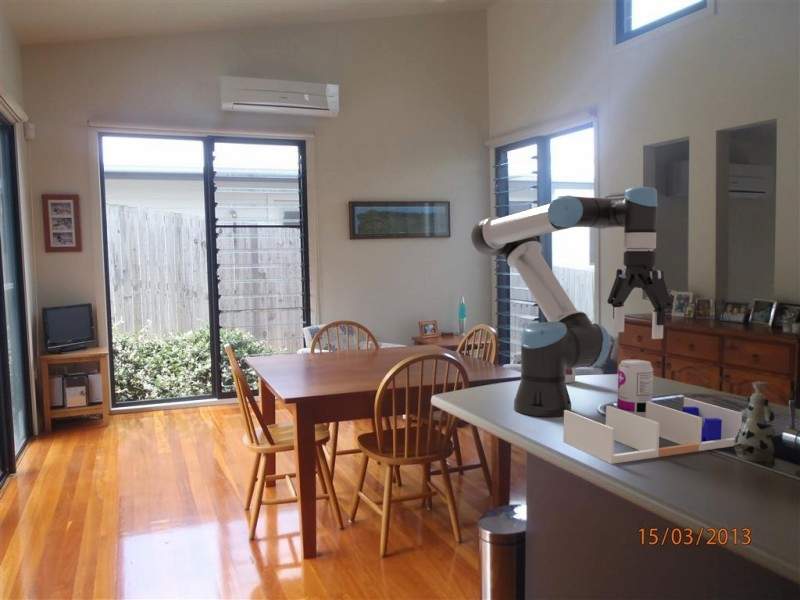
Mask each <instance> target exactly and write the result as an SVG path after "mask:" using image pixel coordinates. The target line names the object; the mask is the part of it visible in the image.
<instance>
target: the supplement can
mask: <svg viewBox="0 0 800 600" xmlns="http://www.w3.org/2000/svg"><path fill="white" fill-rule="evenodd" d="M651 363H652V362H651V361H649V360H644V359H622V360H621V361H620V364H619V365H618V368H617V369H618V373H617V378H618V379H617V406H616V407H617V409H620V410H623V411H626V412H629V413H631V414H634V415H637V416H640V417H643V418H646V402H647V401H648V402H652V403H653V388H654V387H653V386H654V385H653V383H654V368H653V366H652V364H651Z"/></svg>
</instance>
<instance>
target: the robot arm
mask: <svg viewBox="0 0 800 600" xmlns="http://www.w3.org/2000/svg"><path fill="white" fill-rule="evenodd" d="M658 207H659V204H658V190H657V189H656V188H655V187H652V186H651V187H650V186H635V187H629V188H626V189H625V193H624V196H623V197H615V198H614V197H612V198H608V197H607V198H605V197H604V198H603V197H587V196H584V197H583V196H575V195H574V196H573V195H560V196H556V197H555V198H553V200H552V201H551V202H550V203H547V204H543V205H539V206H536V207H533V208H532V207H531V208H529V209H526V210H523V211H518V212H516V213H513V214H508V215H506V216H502V217H501V216H500V217H499V216H497V215H496V216H489V217H486V218H483V219H480V220H479V221H478V222H477V223H475V224H474V226H473V227H472V230H471V234H470V235H471V238H470V239H471V242H472V246H473V247H474V248H475V249H476V251H477V252H479V253H481V254H483V255H485V256H489V257H503V258H504V260H505V261H506V263H507V265H508V266H509V267H510V268H514V269H516V270H517V272H518V274H519V275H520V277H521V279H522V280H523V282H524V283H525V285H526V288H527V289H528V290H529V292H530V293H531V295H532V297H533V299H534V300H535V302H536V304H537V305H538V307H539V309H540V310H541V312H542V314H543V316H544V317H545V318H546V320H547V321H541V322H536V323H530V324H527V325H526V326H525V327H523V328H522V331H521V340H520V348H521V349H520V351H521V353H520V356H521V359H520V360H521V361H520V362H521V363H520V382H519V384H518V385H519V386H518V389H517V390H516V394H515V397H514V400H513V410H514V411H516V412H517V413H519V414H523V415H528V416H533V417H543V418H544V417H549V418H551V417H552V418H553V417H564V410H567V411H570V412H572V402H571V398H570V395H569V391H568V387H567V383H565V369H571V368H575V369H577V368H591V367H593V366H598V365H600V364H601V363H603V362H604V361H605V360H606V359H607V357H608V356H609V352H610V346H611V339H610V334H609V332H608V330H607V329H606V328H605V327H604V326H603V325H601V324H598V323H592V322H591V320H590V318H589V317H588V315H587V314H586V312H584V311H579V310H577V308H576V307H575V305H574V303H573V302H572V300H571V299H570V297H569V295H568V294H567V292H566V291H565V289H564V287H563V286H562V285H561V283H560V281H559V280H558V279H557V277H556V275H555V274H554V272H553V271H552V269H551V267H550V266H549V263H547V261H546V259H545V258H544V256H543V255H542V250H543V247H542V246H543V238H542V237H543V235H545V234H550V233H554V232H557V231H558V232H559V231H562V230H563V231H564V230H567V229H571V228H593V229H604V230H605V229H607V228H608V229H609V228H611V229H612V228H624V229H623V230H624V232H623V249H624V252H623V263H622V264H623V265H624V266H625V268H618V269H616V274H615V279H614V282H613V285H612V288H611V290H610V293H609V296H608V299H607V302H606V303H607V304H609V305H611V306H612V307H613V310H612V311H613V313H612V317H613V333H625V318H626V317H625V316H626V315H625V311H626V310H625V309H626V307H625V305H624V304H625V302H626V301H627V299H628V298H629V296H630V295H631V292H633V290H634V289H636V288H638V289H642V290H643V291H644V293H645V294H646V296H647V297H648V300H649V302H650V303H651V305H652V306H653V308H654V310H653V311H652V320H651V321H652V323H651V340H660V339H661V340H662V339H664V326H665V324H666V312H667V311H669V310H670V311H671V310H673V307H674V306H673V303H672V299H671V297H670V294H669V291H668V288H667V286H666V283H665V279H664V277H665V276H664V271H663V270H657V269H653V267H654V266H656V264H657V263H656V261H657V252H656V251H654V250H655V249H656V248H657V222H658V221H657V218H658Z"/></svg>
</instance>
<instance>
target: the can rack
mask: <svg viewBox="0 0 800 600" xmlns="http://www.w3.org/2000/svg"><path fill="white" fill-rule="evenodd" d="M605 407H606V409H605V424H603V423H601V422H599V421H595V420H593V419H590V418H588V417H585V416H582V415H580V414H577V413H575V412H572V411H571V412H570V411H567V410H564V415H563V441H562V442H563V443H566V444H567V445H570V446H572V447H574V448H575V449H578V450H580V451H582V452H583V453H584V452H585V453H587V454H589V455H591V456H593V457H595V458H596V459H599V460H602V461H603V462H606V463H609V464H610V465H612V464H620V463H626V462H627V463H628V462H633V461H634V462H635V461H641V460H648V459H654V458H661V457H662V458H663V457H668V456H674V455H680V454H681V455H682V454H688V453H694V452H696V453H697V452H701V451H708V450H714V449H723V448H729V447H735V446H734V440H735V437H736V436H737V434H738V432H739V429H740V427H741V425H742V421H743V412H740V411H736V410H732V409H729V408H726V407H721V406H719V405H714V404H711V403H708V402H703V401H701V400H697V399H693V398H689V397H683V407H697V408H698V414H699V417H698V416H694V415H691V414H688V413H684V412H683V411H681V410H679V409H678V410H677V409H674V408H671V407H668V406H665V405H663V404H662V405H661V404H658V403H654V402H653V401H652V402H648V401H647V402H646V418H643V417H640V416H637V415H634V414H631V413H629V412H626V411H623V410H620V409H617V408H616V407H613V406H612V405H606V406H605ZM705 418H719V419H721V420H722V428H721V439H720V440H713V441H706V442H701V434H702V427H704V423H705ZM741 428H742V427H741ZM660 438H662V439H664V440H668V441H670V442H673V443H676V444H677V445H673V446H671V445H670V446H664V447H660ZM615 441H616V442H617V443H620V444H623V445H625V446H628V447H630V448H633V449H635V451H628V452H621V453H614V452H615V450H614V447H615Z"/></svg>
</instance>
